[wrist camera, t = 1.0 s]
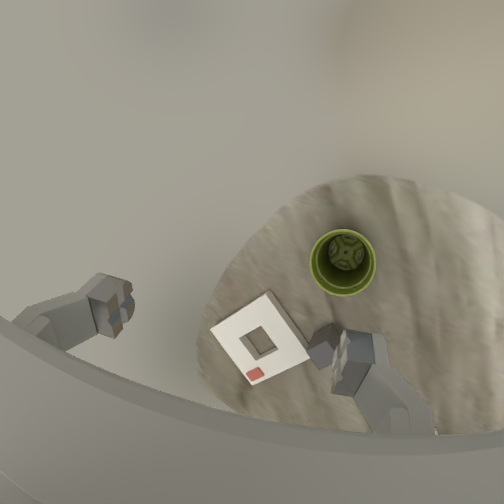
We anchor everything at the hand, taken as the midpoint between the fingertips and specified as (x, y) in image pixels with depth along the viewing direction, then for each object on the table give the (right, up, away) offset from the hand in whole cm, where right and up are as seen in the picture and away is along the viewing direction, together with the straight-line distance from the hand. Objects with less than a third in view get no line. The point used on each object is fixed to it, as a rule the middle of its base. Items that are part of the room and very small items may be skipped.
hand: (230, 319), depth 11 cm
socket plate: (+3, -14, +46) cm, 48 cm away
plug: (+14, -13, +41) cm, 46 cm away
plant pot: (+16, +2, +38) cm, 41 cm away
